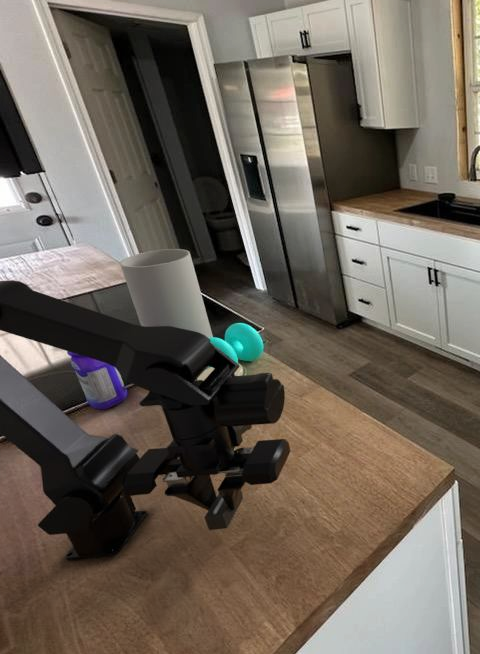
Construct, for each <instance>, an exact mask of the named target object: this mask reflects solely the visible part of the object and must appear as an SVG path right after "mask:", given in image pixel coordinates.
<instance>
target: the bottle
mask: <svg viewBox="0 0 480 654" xmlns="http://www.w3.org/2000/svg"><path fill="white" fill-rule="evenodd" d="M66 354H67V355H68V356H70V364H71V367H72V369H73V370H74V372H75V374H76V377H77V379H78V382H79V384H80V386H81V389H82V391H83V394H84V396H85V399H86V402H87V403H88V404H89V405H90V406H91V407H92V408H94V409H97V410H106V409H109V408H111V407H113V406H117V405H118V404H120V403H123V402H124V401H125V400H126V399H127V397H128V389H127V388H126V386H125V384H124V381H123V377H122V375H121V374H120V373H119V372H118V370H117V369H116V368H115V367H114V366H111V365H109V364H107V363H104V362H101V361H98V360H95V359H92V358H88V357H85V356H82V355H79V354H75V353H72V352H69V351H66Z"/></svg>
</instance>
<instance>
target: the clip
mask: <svg viewBox="0 0 480 654" xmlns="http://www.w3.org/2000/svg"><path fill="white" fill-rule="evenodd" d="M216 496H217V498H216V499H215V501H214V503H213V504H212V506H211V507H210V509H209V511H208V510H207V513H206V514H205V516H204V520H205V523H206V526H207V528H208V531H213V530H223V529H228V528H229V526H230V523H231V522H232V521H233V518H234V516H235V515H236V512H237V511H238V509H239V507H240V505H241V503H242V501H243V499H244V496H243V491H241V493H240V497H239V502H238V505H237V507H236V509H235V510H231V509H230V508H229V507H228V506H227V504H226V503H225V501H224V499H223V498H222V496H221V495H220V493H219V492H218V494H217V495H216Z"/></svg>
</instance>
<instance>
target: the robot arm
mask: <svg viewBox="0 0 480 654" xmlns="http://www.w3.org/2000/svg"><path fill="white" fill-rule="evenodd" d="M0 331H1V332H4V333H8V334H11V335H14V336H17V337H21V338H24V339H26V340H27V339H28V340H30V341H34V342H37V343H39V344H44V345H46V346H50V347H53V348H56V349H59V350H63V351H66V352H67V351H69V352H72V353H75V354H79V355H82V356H85V357H88V358H92V359H95V360H98V361H101V362H104V363H107V364H109V365H111V366H114V367H115V368H116V369H117V370H118V372H119V373H120V376H121V378H122V379H124V380H125V382H127V383H129V384H132V385H134V386H136V387H139V388H141V389H144V390H145V391H148V393H147V394H146V395H145V396H144V397H143V398H142V399H141V400H140V401H139V403H138V404H139V406H140V407H154V406H155V407H156V406H160V407H161V409H162V412H163V415H164V418H165V420H166V423H167V427H168V428H169V431H170V435H171V438H172V441H171V442H170V443H169V445H168V446H167V447H159V448H158V447H157V448H148V449H147V451H145V453H143V454H142V456H141V457H140V456H139V455H138V453H139V449H137V448H136V447H133V446H131V444H129V443H128V442H127V441H126V439H125V438H124V436H123V435H121V434H118V433H113V434H112V435H110V436H109V437H107V436H99V435H93V434H89V433H87V432H86V431H85V430H84V429H83V428H81V426H80V425H79V424H77V423H76V421H74V420H73V419H72V418H70V417H69V415H67V414H66V413H65V412H64V411H63V410H62V409H61V408H60V407H58V406H57V405H56V404H55V403H54V402H53V401H52V400H51V399H50V398H48V396H46V395H45V394H44V393H43V392H42V391H41V390H39V389H38V387H36V385H34V384H33V383H32V382H31V381H29V379H27V378H26V377H25V376H24V375H23V374H22V373H20V371H18V369H16V368H15V367H14V366H13V365H12V364H11V363H10V362H9V361H7V360H6V359H5V358H4V357H3V356H2V355H1V354H0V435H2V436H3V437H4V438H5V439H6V440H8V442H10V443H11V444H12V445H14V447H16V448H18V450H20V451H21V452H23V454H24V455H26V456H27V457H28V458H30V459H31V460H32V461H33V462H35V463H36V464H37V465H38V466H39V468H40V473H41V483H42V491H43V493H44V495H45V496H46V497H47V498H48V500H50V501H51V502H52V504H54V506H53V508H52V509H51V510H50V511H49V512H48V513H47V514H46V515H45V516H44V517H43V518H42V519H41V520H40V521H39V523H37V526H38V528H40V529H41V530H42V531H44V532H45V533H46V534H47V535H49V536H53V535H65V534H66V536H67V538H68V540H69V541H70V544H71V545H72V547H71V548H70V549H69V550H68V552H67V553H66V554H65V556H64V559H65V560H66V561H71V560H81V559H83V560H84V559H93V558H101V557H110V556H111V557H112V556H116V555H118V554H119V553H120V552H121V551H122V550H123V548H124V547H125V546H126V544H127V543H128V542H129V541H130V539H131V538H132V536H134V533H135V532H136V531H137V530H138V528H140V526H141V524H142V523H143V522H144V520H145V519H147V516H148V515H149V513H148V511H147V510H137V508H136V506H135V503H134V501H133V499H132V496H143V495H150V494H151V493H152V492H153V491H154V490H155V489H156V488H157V486H158V484H157V482H156V480H157V478H158V476H164V477H163V478H162V481H163V483H166V486H167V488H166V490H165V491H164V494H165V496H167V497H174V498H177V499H179V500H181V501H185V502H188V503H189V504H193V505H195V506H197V507H200V508H201V509H204V510H205V511H207V512H208V511H209V509H210V507H211V506H212V504H213V503H214V501H215V499H216V498H217V496H218V495H217V493H216V490H215V486H214V483H213V481H212V477H211V476H212V475H213V476H215V475H219V474H225V477H224V478H223V479H222V481H221V483H220V485H219V487H218V488H217V492H218V494H219V493H220V495H221V496H222V498H223V499H224V501H225V503H226V504H227V506H228V507H229V508H230V509H231V510H235V509H236V507H237V505H238V502H239V497H240V493H241V492H242V488H244V486H245V485H246V483H247V484H248V485H250V486H253V485H254V486H256V485H257V486H258V485H266V484H267V485H269V484H272V483H274V482H275V481H277V480H278V479H279V477H280V474H281V472H282V470H283V468H284V466H285V464H286V462H287V460H288V457H289V456H290V453H291V446H290V443H289V441H288V440H287V438H277V439H265V440H264V439H263V440H257V442H256V444H255V445H254V446H248V447H246V446H245V447H240V445H241V444H242V443H243V441H244V440H243V434H245V433H246V432H247V431H249V430H252V426H256V425H257V426H259V425H270V424H271V425H273V424H276V423H277V422H279V420H280V418H281V416H282V414H283V411H284V407H285V399H286V394H285V393H286V392H285V387H284V384H282V382H281V381H280V380H279V379H277V378H274V377H273V374H272V373H271V372H260V373H255V374H247V375H243V376H235V374H234V373H235V372H236V370H237V369H238V368H239V364H240V363H239V362H238V363H236V362H235V361H234V360H232V359H231V358H230V357H229V356H228V355H226V354H225V353H223V352H222V351H221V350H220V349H218V348H217V347H216V346H214V345H213V344H212V343H211V342H210V339H209V338H208V337H207V336H205V335H203V334H201V333H199V332H195V331H191V330H186V329H181V328H176V327H172V326H152V327H144V326H141V325H138V324H134V323H130V322H128V321H125V320H122V319H119V318H117V317H114V316H111V315H107V314H104V313H101V312H99V311H95V310H93V309H90V308H86V307H84V306H80V305H78V304H75V303H72V302H69V301H66V300H63V299H61V298H57V297H54V296H52V295H48V294H46V293H42V292H39V291H36V290H34V289H32V288H31V287H30V286H29V285H28V284H27V283H24V282H22V281H20V280H0ZM208 366H210V367H212V368H215V369H214V370H213V371H212V372H211V373H210V374H209V375H208V377H207V378H206V379H205V380H204V381H203V380H197V378H198V377H199V376H200V375H201V374H202V373H203V372H204V371H205V370H206V368H207V367H208ZM236 447H238V448H236ZM235 448H236V449H235Z"/></svg>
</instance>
